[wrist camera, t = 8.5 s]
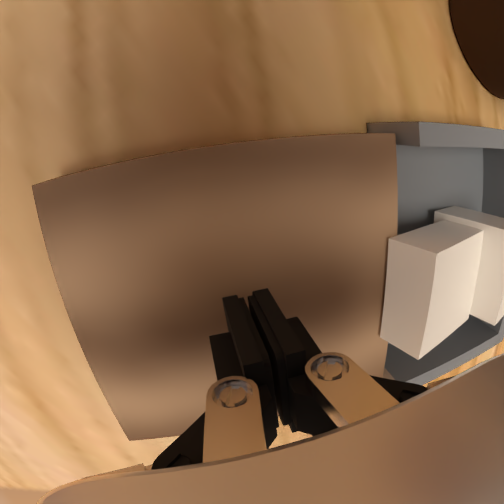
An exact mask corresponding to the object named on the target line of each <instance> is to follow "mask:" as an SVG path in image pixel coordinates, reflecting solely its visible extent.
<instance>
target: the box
mask: <svg viewBox="0 0 504 504" xmlns="http://www.w3.org/2000/svg"><path fill="white" fill-rule="evenodd" d="M367 133H395V138H396V155H397V185H398V222H397V235H400V234H403V233H406V232H409V231H412V230H415V229H418V228H421V227H424V226H427V225H430V224H433V223H434V213H435V211H437V210H441V209H444V208H448V207H451V206H458V207H462V208H467V209H471V210H475V211H479V212H483V213H486V214H490V215H494V216H498V217H502V218H504V130H500V129H493V128H486V127H477V126H468V125H458V124H447V123H433V122H381V123H367ZM503 337H504V316H503V317H502V318H501V319H500V320H499V322H498V323H497V324H496V325H495V326H494V325H492V324H490V323H487V322H485V321H483V320H481V319H479V318H477V317H475V316H472V315H470V314H469V318H468V319H467V320H466V321H465V322H464V323H463V324H462V325H461V326H460V327H458V328H457V329H456V330H455V331H454V332H453V333H451V334H450V335H449V336H448V337H447V338H445V339H444V340H443V341H442V342H441V343H439V344H438V345H437V346H436V347H434V348H433V349H432V350H431V351H429V352H428V353H427V354H425V355H424V356H423V357H422V358H420V359H419V360H417V359H416V358H414V357H412V356H411V355H409V354H407V353H406V352H404V351H402V350H401V349H399V348H397V347H395V346H394V345H392V344H390V343H389V342H388V347H387V353H386V360H385V366H384V372H383V378H386V379H392V380H397V381H403V382H409V383H415V384H419V385H423V384H426V383H428V382H430V381H432V380H434V379H436V378H438V377H440V376H442V375H444V374H446V373H448V372H449V371H451V370H453V369H455V368H457V367H459V366H461V365H462V364H464V363H466V362H468V361H470V360H471V359H473V358H475V357H477V356H478V355H480V354H482V353H483V352H485V351H487V350H488V349H490V348H492V347H493V346H495V345H496V344H498V343H500V342H501V341H502V340H503Z"/></svg>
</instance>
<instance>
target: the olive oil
mask: <svg viewBox="0 0 504 504" xmlns="http://www.w3.org/2000/svg"><path fill="white" fill-rule="evenodd" d="M450 11H451V18H452V22H453V26H454V30H455V33H456V36H457V39H458V42H459V44H460V47H461V49H462V51H463V53H464V56H465V58H466V60H467V61H468V63H469V65H470V67H471V68H472V70H473V72H474V73H475V75H476V76H477V77H478V79H479V80H480V81H481V83H482V84H483V85H484V86H485V87H486V88H487V89H488V90H489V91H490V92H491V93H492V94H494V95H495V96H497V97H499V98H501V99H504V0H450Z"/></svg>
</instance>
